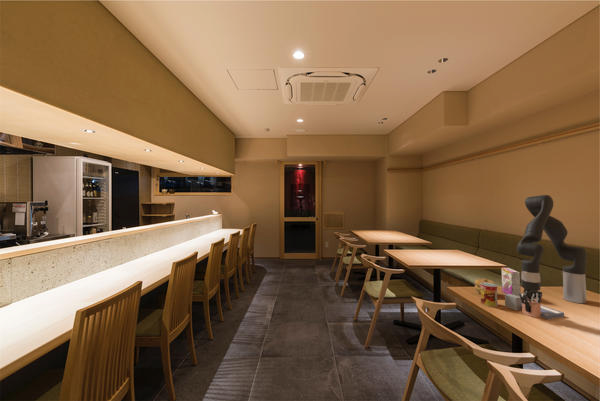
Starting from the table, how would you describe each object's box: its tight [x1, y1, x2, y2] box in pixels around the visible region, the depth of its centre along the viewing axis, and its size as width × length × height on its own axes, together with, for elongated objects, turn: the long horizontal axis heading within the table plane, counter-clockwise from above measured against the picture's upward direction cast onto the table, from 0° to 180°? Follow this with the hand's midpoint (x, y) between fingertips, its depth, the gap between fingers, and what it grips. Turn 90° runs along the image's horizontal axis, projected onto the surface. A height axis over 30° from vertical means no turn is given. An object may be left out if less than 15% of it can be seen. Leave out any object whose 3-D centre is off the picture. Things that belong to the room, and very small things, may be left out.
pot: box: [474, 278, 496, 294], centre depth 162 cm, size 12×12×10 cm
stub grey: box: [504, 293, 522, 311], centre depth 140 cm, size 4×6×7 cm, turn 15°
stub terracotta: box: [521, 301, 542, 319], centre depth 132 cm, size 4×6×7 cm, turn 15°
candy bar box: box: [501, 267, 522, 297], centre depth 160 cm, size 11×5×16 cm, turn 168°
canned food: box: [480, 282, 498, 308], centre depth 146 cm, size 8×8×12 cm
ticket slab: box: [521, 302, 565, 321], centre depth 138 cm, size 12×20×2 cm, turn 15°
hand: (531, 311), depth 132 cm, fingers closed on stub terracotta, 4 cm apart
